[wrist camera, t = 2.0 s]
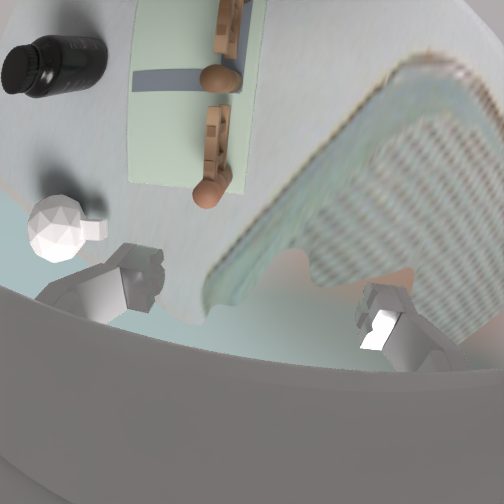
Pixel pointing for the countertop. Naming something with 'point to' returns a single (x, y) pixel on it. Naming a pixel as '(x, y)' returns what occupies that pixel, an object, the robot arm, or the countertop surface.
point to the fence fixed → (225, 49)
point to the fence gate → (214, 158)
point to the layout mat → (186, 91)
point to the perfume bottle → (62, 228)
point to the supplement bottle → (54, 66)
